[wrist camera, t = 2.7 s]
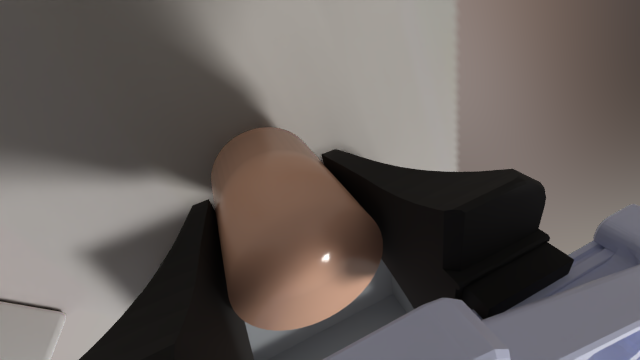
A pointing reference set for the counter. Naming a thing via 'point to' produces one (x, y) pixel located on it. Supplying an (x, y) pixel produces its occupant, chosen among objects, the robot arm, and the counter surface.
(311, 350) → the bin
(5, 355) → the pale grey tall block
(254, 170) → the peach rounded cylinder
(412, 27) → the counter surface
